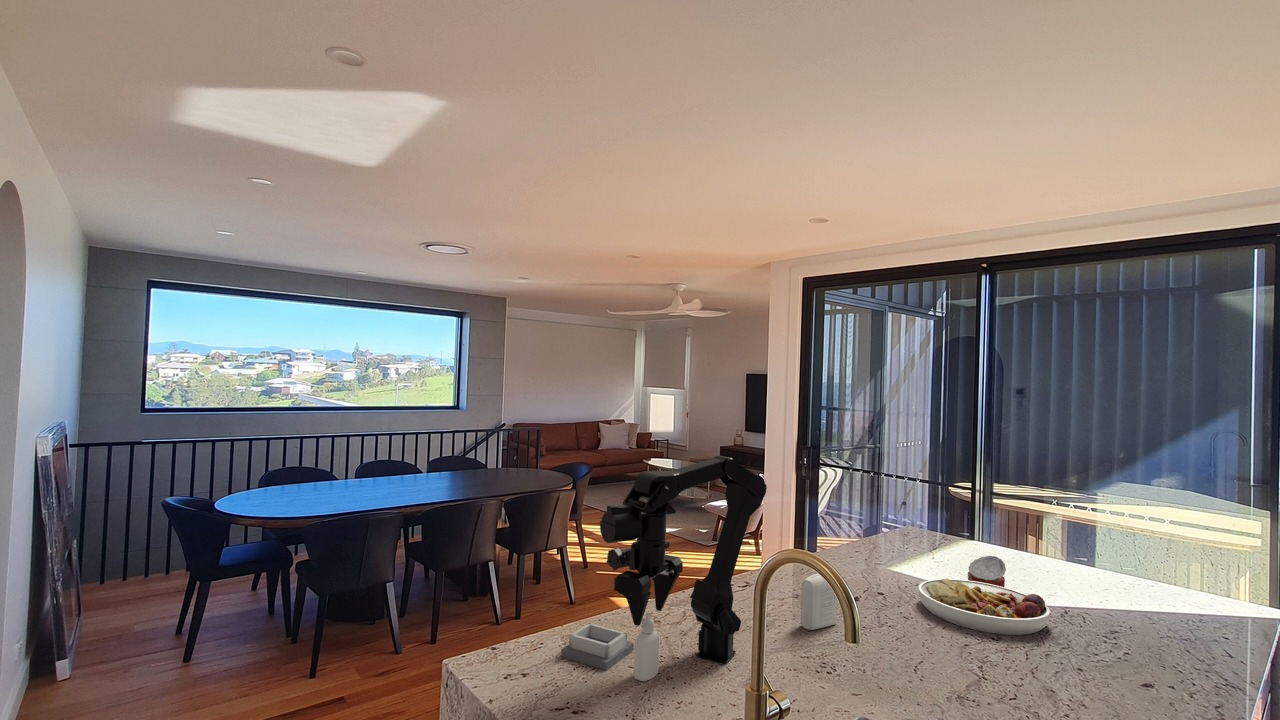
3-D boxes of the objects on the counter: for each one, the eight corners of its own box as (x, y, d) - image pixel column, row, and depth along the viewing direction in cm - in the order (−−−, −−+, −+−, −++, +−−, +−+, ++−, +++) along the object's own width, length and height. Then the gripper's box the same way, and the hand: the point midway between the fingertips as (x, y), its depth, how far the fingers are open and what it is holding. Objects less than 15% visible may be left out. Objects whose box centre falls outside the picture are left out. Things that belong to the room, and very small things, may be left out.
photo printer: (825, 618, 152) (827, 568, 152) (839, 624, 148) (841, 573, 149) (797, 626, 146) (799, 574, 147) (811, 632, 143) (813, 579, 143)
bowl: (921, 625, 151) (921, 593, 151) (915, 589, 178) (916, 562, 179) (1064, 650, 139) (1064, 615, 140) (1034, 607, 167) (1035, 579, 167)
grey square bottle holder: (633, 650, 129) (634, 631, 129) (606, 670, 119) (607, 650, 120) (590, 638, 134) (590, 619, 135) (560, 656, 125) (561, 636, 125)
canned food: (1005, 604, 182) (1018, 579, 178) (972, 599, 182) (984, 574, 178) (989, 576, 192) (1001, 552, 188) (957, 571, 193) (968, 547, 188)
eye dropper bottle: (628, 672, 119) (630, 610, 119) (654, 668, 121) (656, 607, 122) (637, 683, 115) (639, 619, 115) (663, 678, 117) (666, 615, 118)
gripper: (638, 522, 131) (635, 595, 131) (591, 540, 115) (587, 624, 114) (685, 530, 126) (682, 606, 125) (642, 550, 110) (639, 637, 109)
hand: (648, 617), depth 119 cm, fingers open, 9 cm apart
